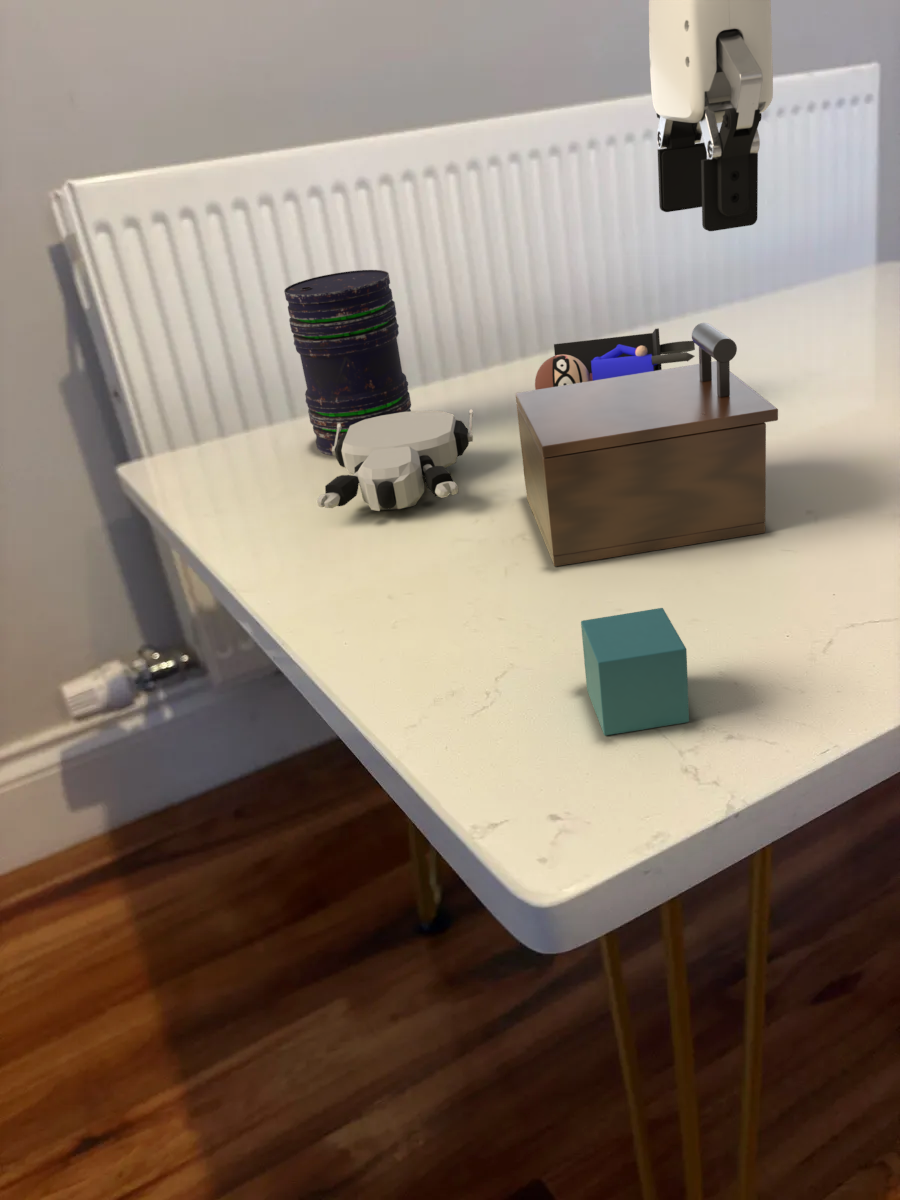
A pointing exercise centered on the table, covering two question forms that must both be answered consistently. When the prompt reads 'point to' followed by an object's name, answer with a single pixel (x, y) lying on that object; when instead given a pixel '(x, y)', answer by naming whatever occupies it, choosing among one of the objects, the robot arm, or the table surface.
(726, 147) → the robot arm
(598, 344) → the character figurine
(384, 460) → the robot toy
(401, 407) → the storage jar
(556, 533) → the box
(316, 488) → the table surface
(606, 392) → the lid
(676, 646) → the cube
